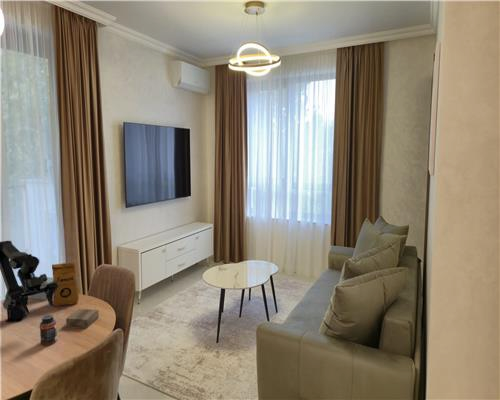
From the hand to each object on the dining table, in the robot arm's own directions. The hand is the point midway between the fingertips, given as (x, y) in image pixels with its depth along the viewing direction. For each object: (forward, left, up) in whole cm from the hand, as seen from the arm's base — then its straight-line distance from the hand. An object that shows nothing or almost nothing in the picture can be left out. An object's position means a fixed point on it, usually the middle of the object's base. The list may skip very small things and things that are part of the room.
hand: (40, 309), depth 147 cm
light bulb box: (-20, +45, -13) cm, 51 cm away
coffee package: (-4, +36, -13) cm, 38 cm away
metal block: (+12, +13, -12) cm, 22 cm away
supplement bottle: (+5, -4, -13) cm, 14 cm away
